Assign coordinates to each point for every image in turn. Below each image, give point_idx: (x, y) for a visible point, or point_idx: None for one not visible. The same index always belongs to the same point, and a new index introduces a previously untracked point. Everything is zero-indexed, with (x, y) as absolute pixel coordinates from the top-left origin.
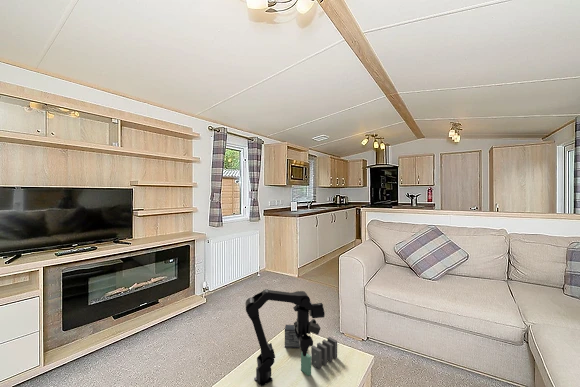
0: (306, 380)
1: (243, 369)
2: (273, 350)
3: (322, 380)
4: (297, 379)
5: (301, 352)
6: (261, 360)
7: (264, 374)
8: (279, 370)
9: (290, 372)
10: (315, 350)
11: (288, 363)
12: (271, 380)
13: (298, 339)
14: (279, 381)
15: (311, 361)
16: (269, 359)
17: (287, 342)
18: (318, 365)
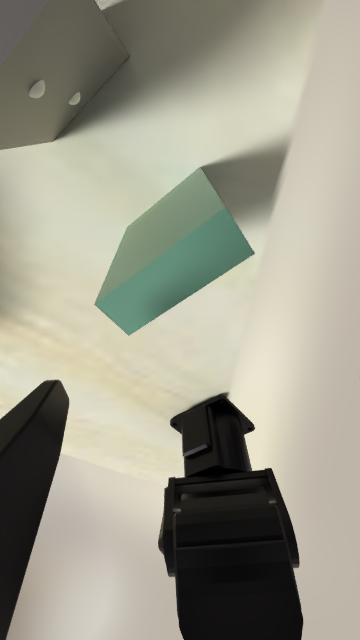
0: (260, 218)
1: (143, 473)
2: (197, 556)
3: (298, 48)
4: (237, 280)
5: (128, 329)
6: (180, 502)
7: (249, 460)
8: (148, 368)
9: (167, 316)
10: (10, 73)
11: (78, 324)
12: (227, 399)
13: (36, 515)
14: (235, 368)
15: (43, 141)
16: (297, 558)
17: None
18: (116, 55)
